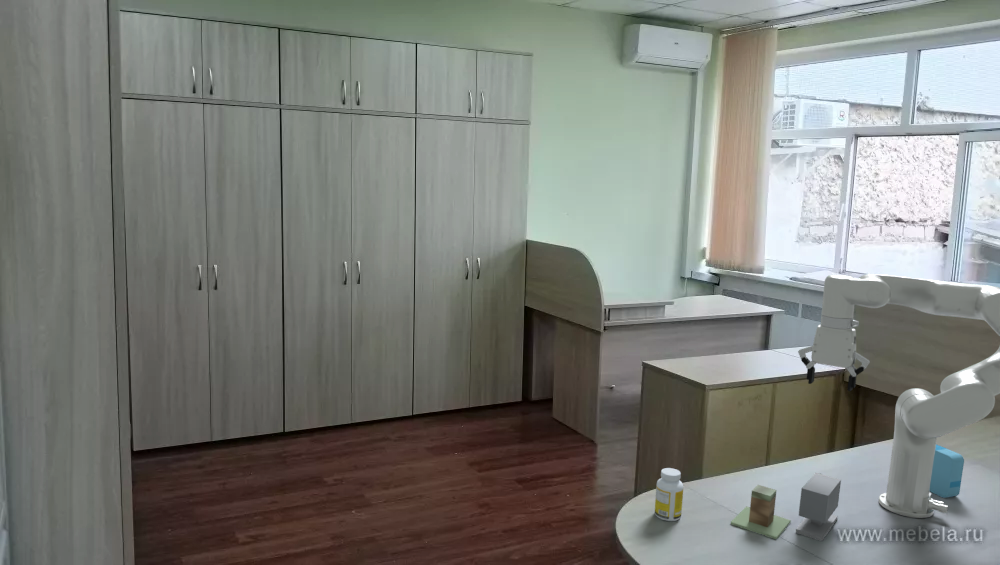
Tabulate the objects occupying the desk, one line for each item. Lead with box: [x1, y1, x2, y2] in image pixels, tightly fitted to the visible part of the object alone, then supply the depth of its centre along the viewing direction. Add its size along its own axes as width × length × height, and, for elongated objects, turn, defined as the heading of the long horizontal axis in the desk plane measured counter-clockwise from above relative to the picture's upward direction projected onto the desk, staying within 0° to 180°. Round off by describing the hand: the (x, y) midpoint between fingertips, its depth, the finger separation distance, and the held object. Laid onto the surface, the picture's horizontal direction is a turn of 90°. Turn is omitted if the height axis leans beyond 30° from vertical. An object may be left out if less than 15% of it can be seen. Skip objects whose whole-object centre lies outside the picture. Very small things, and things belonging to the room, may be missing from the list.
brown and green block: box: [749, 484, 777, 527], centre depth 179 cm, size 4×4×8 cm
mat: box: [730, 506, 792, 540], centre depth 180 cm, size 11×11×1 cm
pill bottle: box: [654, 467, 684, 522], centre depth 181 cm, size 6×6×12 cm
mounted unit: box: [795, 472, 842, 542], centre depth 179 cm, size 6×14×11 cm, turn 142°
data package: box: [929, 443, 965, 499], centre depth 202 cm, size 12×4×12 cm, turn 20°
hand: (830, 386), depth 193 cm, fingers open, 9 cm apart
